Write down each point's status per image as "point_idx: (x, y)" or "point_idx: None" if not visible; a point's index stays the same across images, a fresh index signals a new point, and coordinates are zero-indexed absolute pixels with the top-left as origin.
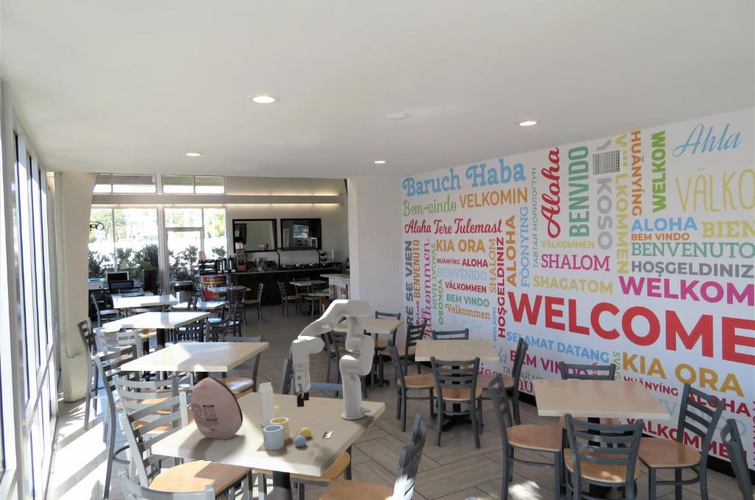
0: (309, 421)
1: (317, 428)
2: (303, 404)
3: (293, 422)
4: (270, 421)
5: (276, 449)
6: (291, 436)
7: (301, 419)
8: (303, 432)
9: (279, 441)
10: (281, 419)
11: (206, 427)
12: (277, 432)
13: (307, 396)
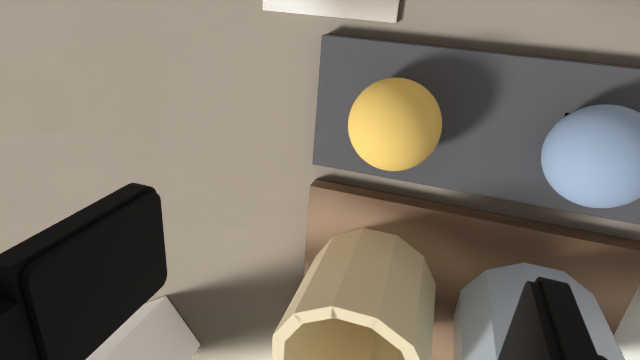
0: (78, 114)
1: (191, 44)
2: (573, 318)
3: None
4: None
5: (601, 308)
6: (364, 217)
7: (56, 164)
8: (433, 144)
9: (602, 322)
10: (288, 344)
11: None
12: None
13: (107, 239)
